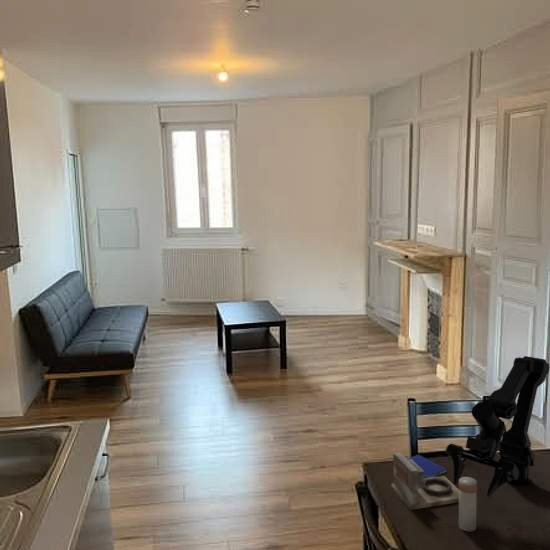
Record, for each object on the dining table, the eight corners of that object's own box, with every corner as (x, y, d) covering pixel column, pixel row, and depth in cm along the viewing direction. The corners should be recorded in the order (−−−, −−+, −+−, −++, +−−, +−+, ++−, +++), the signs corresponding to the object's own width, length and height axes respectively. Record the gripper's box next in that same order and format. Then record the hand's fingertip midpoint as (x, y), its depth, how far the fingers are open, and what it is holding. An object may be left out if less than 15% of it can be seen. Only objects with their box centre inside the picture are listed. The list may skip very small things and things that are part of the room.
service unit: (443, 479, 176) (444, 445, 175) (466, 500, 164) (467, 464, 162) (391, 487, 172) (391, 452, 171) (410, 509, 160) (410, 472, 158)
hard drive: (400, 460, 187) (428, 476, 177) (418, 454, 191) (447, 468, 181) (400, 465, 188) (428, 480, 177) (418, 458, 192) (447, 473, 181)
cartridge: (468, 520, 154) (469, 475, 152) (480, 529, 150) (481, 483, 148) (454, 524, 152) (455, 478, 151) (465, 533, 148) (466, 486, 146)
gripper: (449, 415, 159) (428, 466, 153) (516, 433, 146) (497, 489, 140) (461, 433, 166) (442, 483, 159) (527, 452, 153) (509, 506, 146)
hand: (471, 490), depth 151 cm, fingers open, 9 cm apart
